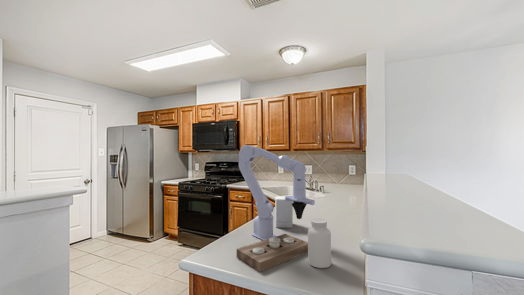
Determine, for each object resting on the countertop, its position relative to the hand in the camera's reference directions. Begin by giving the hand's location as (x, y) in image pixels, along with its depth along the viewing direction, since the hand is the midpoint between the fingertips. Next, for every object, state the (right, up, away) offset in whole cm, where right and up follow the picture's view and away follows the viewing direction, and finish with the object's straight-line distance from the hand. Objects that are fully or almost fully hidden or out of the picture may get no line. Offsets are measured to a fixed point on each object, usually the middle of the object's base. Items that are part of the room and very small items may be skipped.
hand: (299, 218), depth 104 cm
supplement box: (-5, -10, +20) cm, 23 cm away
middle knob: (-12, -7, -15) cm, 21 cm away
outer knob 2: (-6, -9, -10) cm, 15 cm away
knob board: (-12, -9, -15) cm, 22 cm away
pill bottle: (+3, -9, -23) cm, 25 cm away
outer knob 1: (-18, -8, -20) cm, 29 cm away
